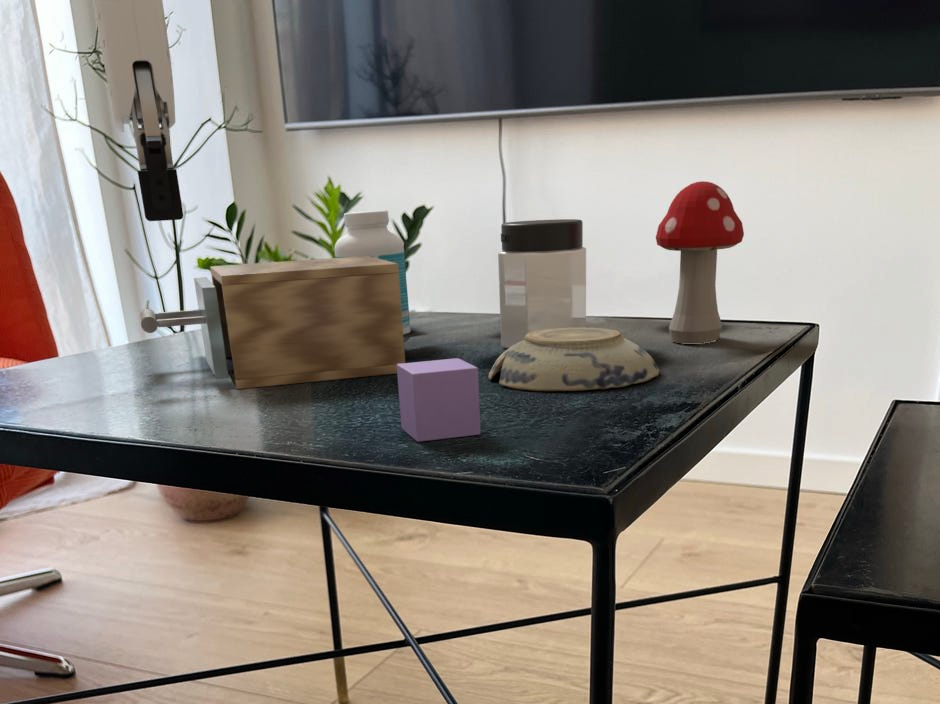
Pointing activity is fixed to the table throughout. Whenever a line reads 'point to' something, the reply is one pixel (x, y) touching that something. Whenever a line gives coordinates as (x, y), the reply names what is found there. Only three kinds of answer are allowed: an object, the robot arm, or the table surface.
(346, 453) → the table surface
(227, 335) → the cabinet
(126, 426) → the table surface
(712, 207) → the decorative mushroom
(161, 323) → the drawer
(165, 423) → the table surface
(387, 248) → the pill bottle
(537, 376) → the decorative bowl
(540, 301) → the jar
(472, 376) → the cube
